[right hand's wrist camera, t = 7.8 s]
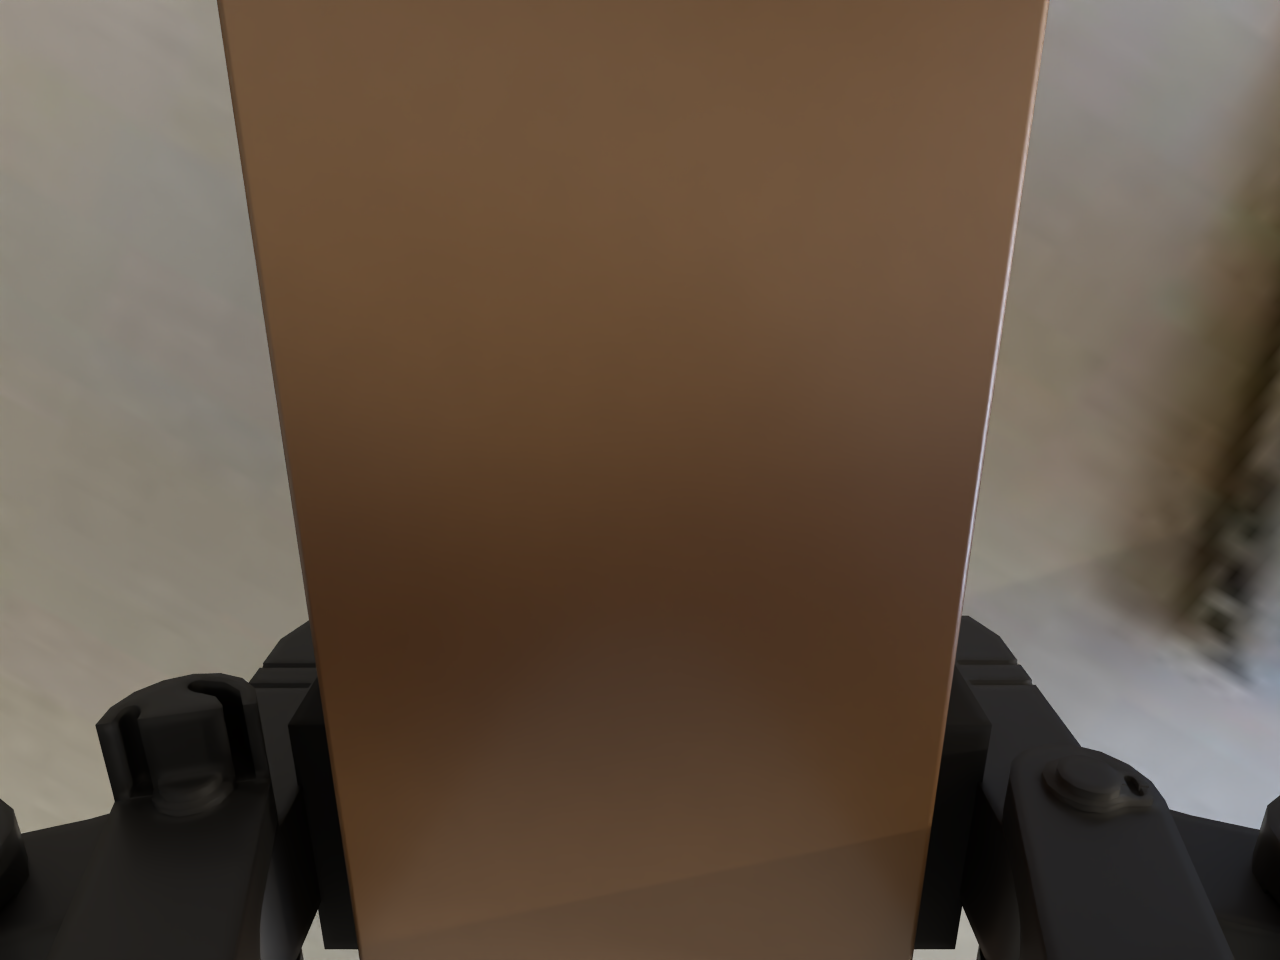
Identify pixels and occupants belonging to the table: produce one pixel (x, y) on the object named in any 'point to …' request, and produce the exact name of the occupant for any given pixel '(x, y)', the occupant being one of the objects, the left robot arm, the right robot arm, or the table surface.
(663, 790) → the bar
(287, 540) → the table surface
